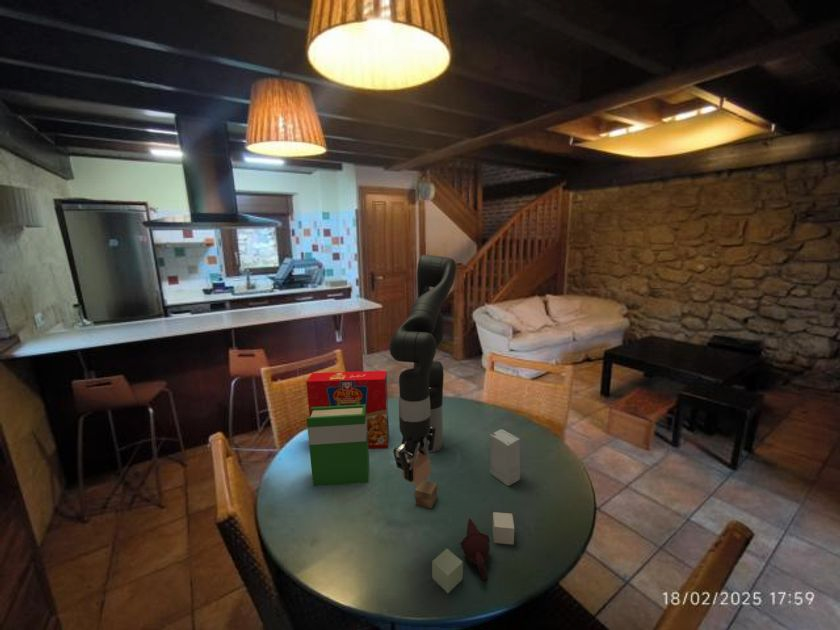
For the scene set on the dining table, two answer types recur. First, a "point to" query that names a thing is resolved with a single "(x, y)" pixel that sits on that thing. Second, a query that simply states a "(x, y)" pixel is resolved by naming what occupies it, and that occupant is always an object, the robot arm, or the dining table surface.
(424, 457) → the terracotta cube
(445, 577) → the sage cube
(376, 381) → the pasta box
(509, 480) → the skincare box
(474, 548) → the icecream
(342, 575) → the dining table surface
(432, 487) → the walnut cube
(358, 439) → the hardback book
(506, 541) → the cream cube
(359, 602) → the dining table surface
